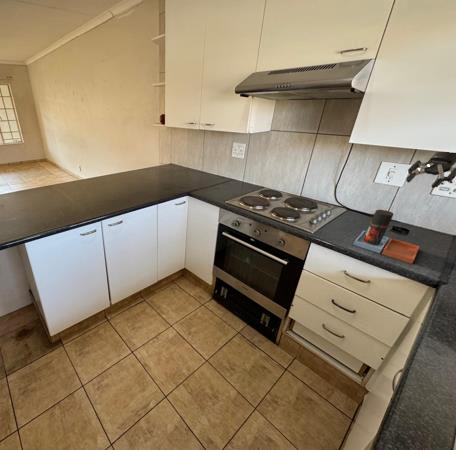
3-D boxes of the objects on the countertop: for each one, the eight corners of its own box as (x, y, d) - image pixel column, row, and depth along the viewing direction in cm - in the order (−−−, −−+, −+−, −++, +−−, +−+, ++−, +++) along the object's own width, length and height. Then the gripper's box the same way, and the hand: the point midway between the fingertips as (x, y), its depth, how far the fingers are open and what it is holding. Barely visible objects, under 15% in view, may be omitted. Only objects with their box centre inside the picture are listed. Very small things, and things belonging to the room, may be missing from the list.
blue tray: (387, 241, 115) (389, 237, 114) (379, 253, 107) (381, 249, 106) (362, 234, 122) (363, 230, 121) (353, 244, 113) (354, 240, 112)
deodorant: (383, 245, 111) (397, 215, 105) (369, 245, 111) (383, 215, 105) (372, 238, 117) (385, 209, 110) (360, 238, 117) (372, 209, 110)
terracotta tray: (417, 250, 108) (419, 246, 107) (411, 263, 100) (414, 259, 99) (389, 241, 115) (390, 238, 114) (381, 253, 106) (383, 249, 105)
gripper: (426, 146, 108) (399, 174, 109) (473, 151, 96) (441, 183, 97) (427, 157, 112) (401, 184, 113) (472, 163, 100) (442, 194, 101)
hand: (419, 183), depth 105 cm, fingers open, 8 cm apart
